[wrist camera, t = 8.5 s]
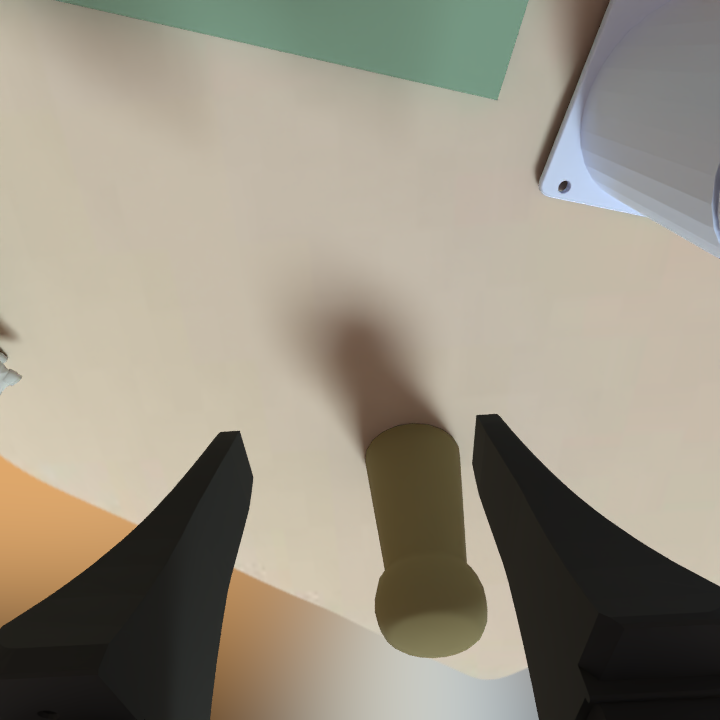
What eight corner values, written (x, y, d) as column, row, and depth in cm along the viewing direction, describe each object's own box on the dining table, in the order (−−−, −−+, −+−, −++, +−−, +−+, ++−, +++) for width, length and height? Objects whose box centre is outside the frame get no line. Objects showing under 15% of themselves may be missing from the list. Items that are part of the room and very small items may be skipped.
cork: (362, 425, 27) (362, 611, 18) (463, 421, 27) (513, 607, 18) (367, 491, 31) (369, 676, 22) (457, 488, 31) (497, 673, 21)
